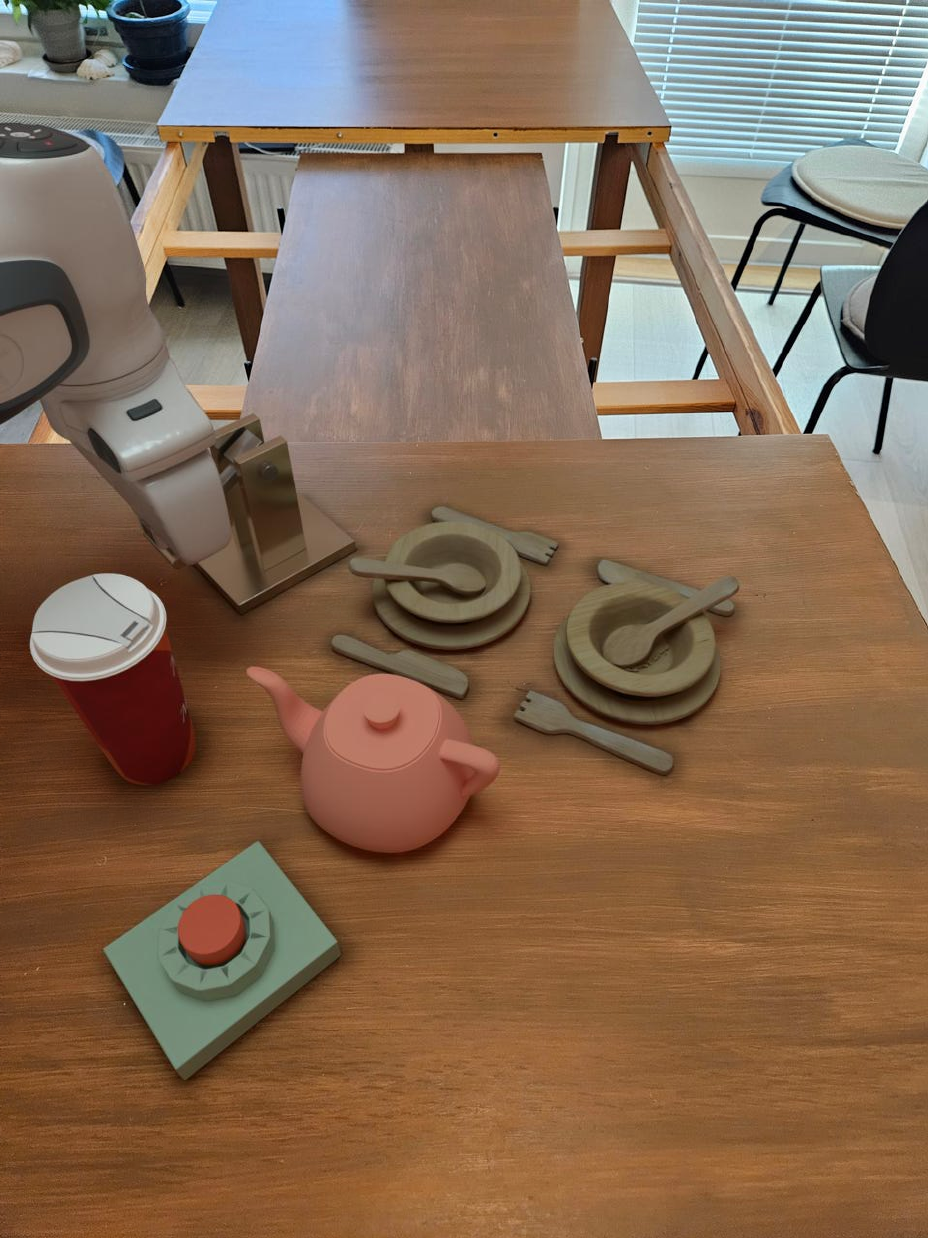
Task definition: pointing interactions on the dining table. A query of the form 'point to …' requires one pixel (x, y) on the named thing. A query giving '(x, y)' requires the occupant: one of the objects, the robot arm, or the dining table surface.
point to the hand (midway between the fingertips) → (161, 537)
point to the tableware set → (584, 643)
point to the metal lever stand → (268, 524)
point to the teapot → (382, 760)
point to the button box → (234, 990)
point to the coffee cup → (118, 673)
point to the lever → (227, 480)
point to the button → (212, 930)
